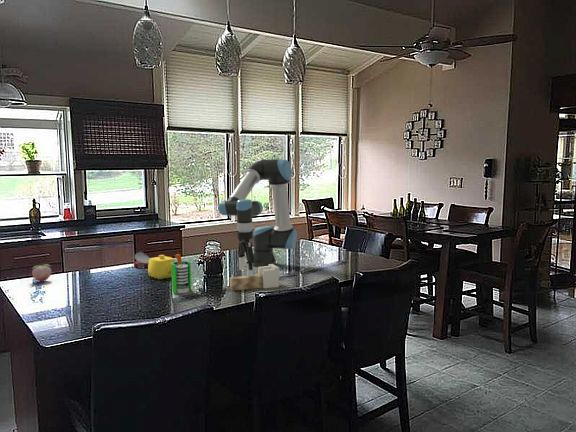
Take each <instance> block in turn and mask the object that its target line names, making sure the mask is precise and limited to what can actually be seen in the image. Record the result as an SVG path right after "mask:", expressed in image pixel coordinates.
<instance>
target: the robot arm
mask: <svg viewBox="0 0 576 432" xmlns="http://www.w3.org/2000/svg"><path fill="white" fill-rule="evenodd" d="M292 178H293V168H292V165H291V163H290V162H289V161H288V159H280V158H277V159H274V158H273V159H259V160H257V161H255V162H254V163H253V164H251V165H249V167H248V168H247V169H246V170H245V171H244V176H243V177H242V179H241V181H240V182H239V183H238V185H237V186H236V187H235V189H234V191H233V192H232V193H231V194H230V196H229V197H228V199H227V200H222V201H220V202H219V204H218V212H219V214H220V215H222V216H235V217H236V225H235V227H237V228H236V229H237V232H236V233H237V234H236V235H237V239H238V248H237V256H238V257H239V258H238V266H239V268H238V270H239V271H245V270H246V269H247V270H246V273H247V274H246V276H253V275H254V267H257V268H258V267H263V266H269V264H274V265H276V264H277V260H276V257H275V253H274V249H278V250H279V249H280V250H281V249H282V250H292V249H294V247H296V243H297V239H298V232H297V229H294V226H293V225H292V224H291V218H290V205H289V195H288V194H289V193H288V184H289V183H290V180H292ZM263 180H265V181H268V184H269V185H270V186H271V187H272V188H271V189H272V200H273V210H274V220H275V225H274V226H271V225H265V226H260V227H256V228H254V230H253V217H257V216H259V215H260V214H262V212H263V211H264V210H263V208H264V206H263V204H262V202H261V201H258V200H251V199H248V198H247V197H248V196H249V195H250V193H251V192H252V190H253V188H255V185H257V184H259V182H260V181H263ZM252 239H253V242H250V240H252ZM245 258H246V259H245ZM245 260H247V261H245ZM245 262H246V263H245ZM276 266H277V265H276ZM246 267H247V268H246Z"/></svg>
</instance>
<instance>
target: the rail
mask: <svg viewBox="0 0 576 432" xmlns="http://www.w3.org/2000/svg"><path fill="white" fill-rule="evenodd" d="M258 288H259V289H260V288H263V274H260V275H258V274H253V276H247V275H242V276H230V277H229V290H230V291H232V292H233V291H241V290H251V289H258Z"/></svg>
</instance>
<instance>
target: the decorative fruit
mask: <svg viewBox="0 0 576 432" xmlns="http://www.w3.org/2000/svg"><path fill="white" fill-rule="evenodd" d="M31 270H32V272H31V273H32V277H33V278H34V280H35V281H39V282H45V281H46V280H48V279H49V278H50V276H51V275H52V269H51V265H50V264H47V263H45V264H38V265H34V266H33V267H32V268H31Z"/></svg>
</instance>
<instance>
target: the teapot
mask: <svg viewBox="0 0 576 432" xmlns="http://www.w3.org/2000/svg"><path fill="white" fill-rule="evenodd" d="M149 258H150V259H149V264H148V268H147V274H148V276H149V277H150V276H151V278H152V277H154V278H153V279H156V278H157V280H165V279H169V278H172V265H171V263H173V262H176V260H175V257H174V258H173V257H171V256H166V255H164V254H159V255H158V256H157V257H156V256H155V257H149ZM164 278H165V279H164Z"/></svg>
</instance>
